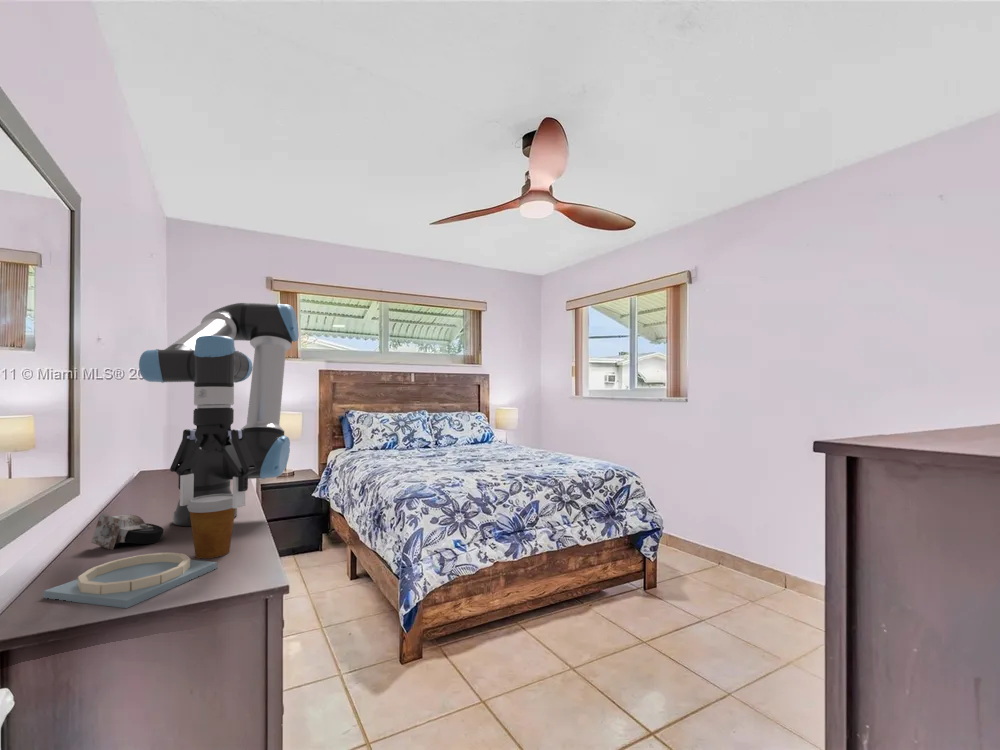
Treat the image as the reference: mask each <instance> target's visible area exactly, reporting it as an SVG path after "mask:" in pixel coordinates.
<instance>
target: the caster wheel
mask: <svg viewBox="0 0 1000 750" xmlns="http://www.w3.org/2000/svg"><path fill="white" fill-rule="evenodd" d="M163 533H164V528H163V527H162V526H160V525H157V524H153V523H146V522H145V521H144V520H143V518H141V517H140V516H139V515H137V514H136V515H135V514H122V515H115V516H114V515H112V516H111V515H108V514H105V513H102V512H101V513H100V514H99V518H98V520H97V523H96V526H95V529H94V531H93V535H92V538H91V541H90V542H91V544H94V545H97V546H100V547H102V548H105V549H106V550H109V549H113V550H114V548H115V544H121V543H130V544H138V545H140V544H141V545H148V544H155V543H159V542H160V541H161V540H162V536H163Z"/></svg>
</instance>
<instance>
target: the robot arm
mask: <svg viewBox="0 0 1000 750" xmlns="http://www.w3.org/2000/svg"><path fill="white" fill-rule="evenodd" d="M235 341H247V342H248V341H249V343H250V346H251V347H252V348H253V349H254V355H253V363H252V359H250V357H248V355H247V354H245V353H243V352H241V351H239V350H236V347H235ZM297 341H299V325H298V319H297V315H296V311H295V309H294V307H293V306H292V305H290V304H286V303H285V304H283V303H278V302H277V303H259V302H258V303H257V302H256V303H255V302H253V303H252V302H237V303H236V302H235V303H231V304H227V305H225V306H221V307H220V308H217V309H214V310H213V311H211V312H209V313H208V314H206V315H205V316H204V317H202V319H201V322H200V324H199V325H197V326H196V327H195V328H193V329H192V330H190V331H188V332H187V333H186V334H185V335H183V336H182V337H180V338H178V340H175V342H173V343H172V344H170V345H169V346H168V347H166V348H164V349H159V348H158V349H147V350H145V351H143V352H142V353H141V355H140V358H139V360H138V370H139V374H140V376H141V378H142V379H143V380H144V381H146V382H150V383H162V384H165V383H193V406H195V407H196V408H194V409H193V418H192V421H193V422H192V423H193V426H196V428H191V429H186V428H185V429H183V431H182V439H181V441H180V443H179V446H178V449H177V451H176V454H175V456H174V459H173V461H172V463H171V465H170V467H169V470H170V472H172V473H176V474H177V476H178V484H177V485H178V487H177V488H178V490H179V499H178V502H177V506H176V509H175V511H174V512H173V514H172V523H173V525H175V526H180V527H181V526H184V527H185V526H187V527H189V526H191V519H190V512H189V511H188V508H187V506H188V505H189V501H190V499H192V498H195V497H200V496H205V495H212V494H233V508H235V515H234V518H236V517H237V516H238V508H242V507H245V506H246V491H248V488H249V480H250V479H252V480H253V479H254V480H255V479H262V480H265V479H270V478H277V477H280V476H281V475H282V474H283V473H284V471H285V470H286V467H287V465H288V462H289V456H290V453H291V448H290V447H291V442H290V441H291V440H290V438H289V436H286V435H285V430H284V429H283V428H282V427H281V425H280V424H281V423H280V422H281V421H280V420H281V412H282V411H281V410H282V408H281V407H282V401H283V400H282V399H283V398H282V396H283V386H284V374H285V364H286V353H287V352H288V351H289V350H291V348H292V345H293V344H292V343H293V342H297ZM250 376H251V381H250V390H249V401H248V409H247V417H246V424H245V425H244V426H243V427H242V428H236V429H233V428H232V424H234V415H235V414H234V411H235V410H234V408H233V407H232V406H233V405H235V396H234V395H235V394H234V393H235V384H236V383H240V382H244V381H246V380H247V379H248V378H249V377H250ZM231 480H232V490H231ZM236 515H237V516H236ZM235 516H236V517H235Z"/></svg>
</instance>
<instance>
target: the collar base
mask: <svg viewBox="0 0 1000 750" xmlns="http://www.w3.org/2000/svg"><path fill="white" fill-rule="evenodd" d="M214 569H215V570H217V569H218V561H208V560H197V559H196V560H195V559H191V558H190V557H189V556H188V555H187V554H185V553H180V552H178V553H177V552H166V551H165V552H154V553H145V554H139V555H138V554H137V555H132V556H128V557H123V558H118V559H115V560H111V561H108V562H105V563H102V564H100V565H97V566H93V567H92V568H89V569H87V570H86V571H84V572H83V573H81V574H80V575H78V576H77V578H76V579H73V580H70V581H68V582H65V583H62V584H60V585H57V586H54V587H51V588H48V589H45V590H43V596H42V597H43V599H47V598H49V599H48V600H55V599H59V600H58V601H63V600H66V601H65V602H71V601H72V602H73V603H80V604H81V603H82V604H89V605H96V606H105V607H114V608H122V609H128V608H130V607H132V606H135V605H137V604H140V603H142V602H144V601H146V600H148V599H151V598H153V597H156V596H157V595H160V594H162V593H165V592H167V591H169V590H171V589H173V588H176V587H179V586H180V585H182V584H185V583H187V582H190V581H191V579H192V580H193V579H196V578H199V577H201V576H203V575H205V574H208V573H210V572H212V571H215V570H214ZM207 572H208V573H207ZM198 576H199V577H198ZM189 580H190V581H189Z"/></svg>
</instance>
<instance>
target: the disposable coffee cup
mask: <svg viewBox="0 0 1000 750" xmlns="http://www.w3.org/2000/svg"><path fill="white" fill-rule="evenodd" d="M187 508H188V511H189V512H190V519H191V533H192V539H193V548H194V554H195V556H196V557H197V558H196V557H195V556H194V557H195V558H196V559H200V558H209V559H215V558H219V557H218V556H220V557H223V556H225V555H228V554H229V553H230V550H231V549H230V548H231V542H232V535H233V527H234V520H235V517H234V515H235V508H233V493H232V494H212V495H205V496H200V497H195V498H192V499H190V501H189V505H188V506H187ZM228 552H229V553H228ZM222 555H223V556H222ZM214 557H215V558H214Z"/></svg>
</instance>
